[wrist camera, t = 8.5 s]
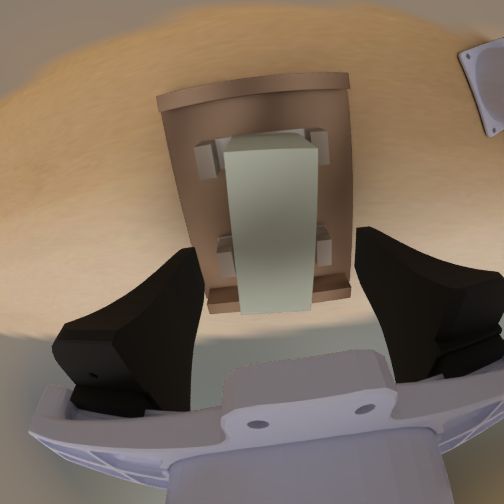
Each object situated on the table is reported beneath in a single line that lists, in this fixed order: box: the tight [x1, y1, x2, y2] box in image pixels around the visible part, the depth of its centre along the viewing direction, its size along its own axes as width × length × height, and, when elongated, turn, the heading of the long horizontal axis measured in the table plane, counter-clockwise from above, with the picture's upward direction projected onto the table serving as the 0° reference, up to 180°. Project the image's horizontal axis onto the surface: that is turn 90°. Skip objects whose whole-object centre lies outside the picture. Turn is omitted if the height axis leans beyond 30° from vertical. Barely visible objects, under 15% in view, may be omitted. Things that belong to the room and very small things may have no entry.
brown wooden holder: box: [156, 72, 353, 314], centre depth 19 cm, size 12×16×4 cm
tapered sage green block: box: [224, 133, 318, 315], centre depth 16 cm, size 4×9×6 cm, turn 4°
